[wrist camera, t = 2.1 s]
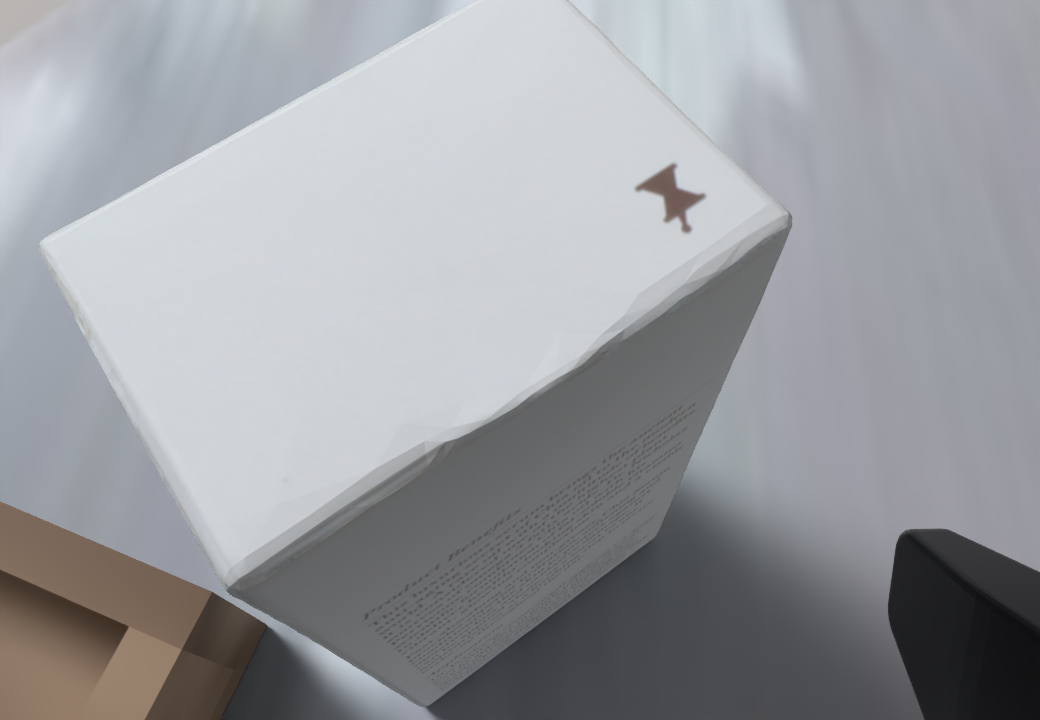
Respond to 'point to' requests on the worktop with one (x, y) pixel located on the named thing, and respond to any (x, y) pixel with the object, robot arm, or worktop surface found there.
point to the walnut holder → (109, 633)
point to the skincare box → (430, 334)
